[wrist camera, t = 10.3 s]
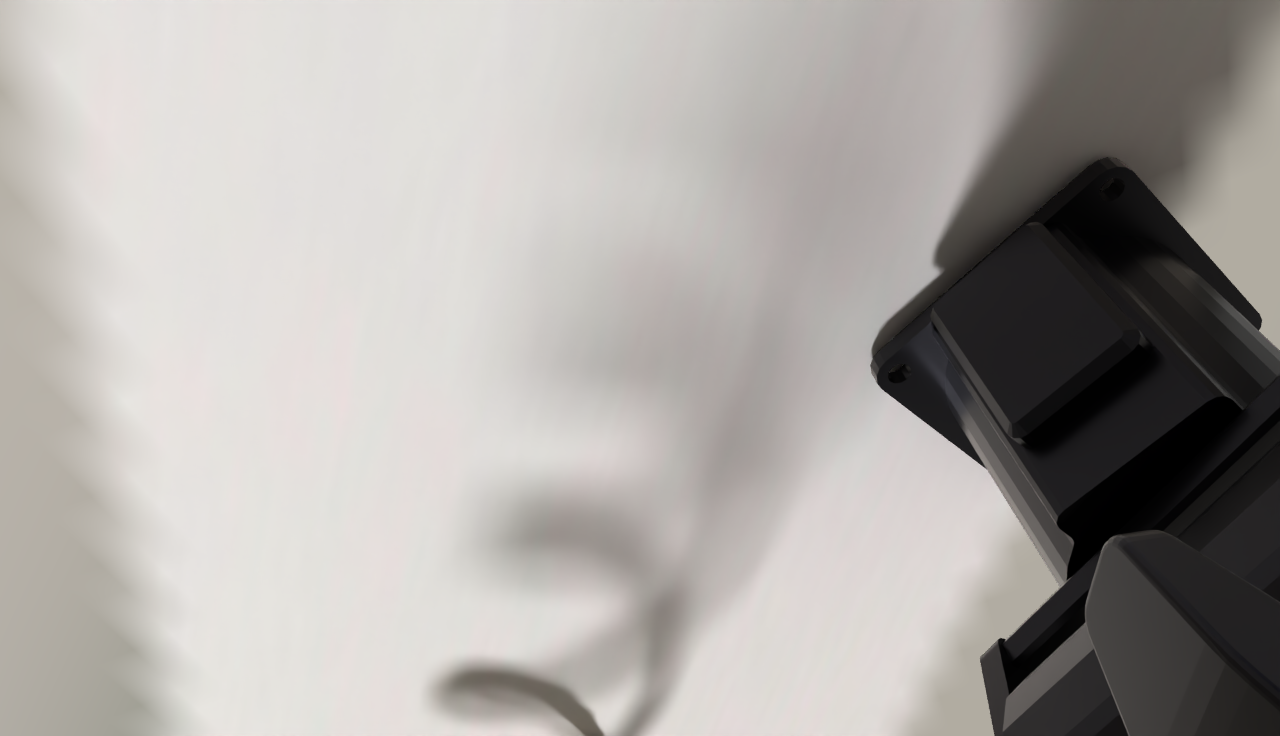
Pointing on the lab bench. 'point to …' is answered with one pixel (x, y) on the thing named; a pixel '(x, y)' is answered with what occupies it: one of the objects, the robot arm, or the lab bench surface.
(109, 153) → the lab bench surface
